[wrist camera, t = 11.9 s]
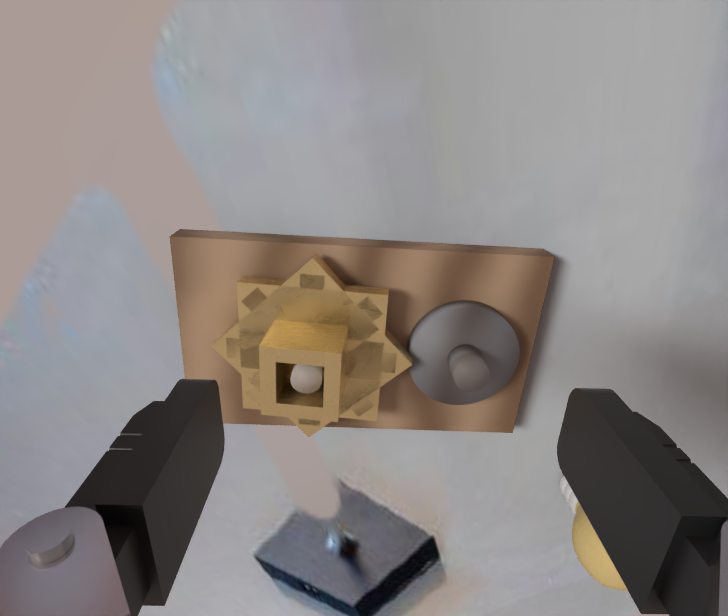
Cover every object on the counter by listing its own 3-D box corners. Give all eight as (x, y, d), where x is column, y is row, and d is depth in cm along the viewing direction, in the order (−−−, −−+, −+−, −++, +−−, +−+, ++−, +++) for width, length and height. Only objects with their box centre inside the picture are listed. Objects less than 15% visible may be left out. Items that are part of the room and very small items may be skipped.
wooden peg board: (543, 248, 33) (589, 282, 27) (504, 417, 39) (535, 478, 33) (180, 229, 32) (137, 259, 25) (197, 406, 38) (166, 467, 31)
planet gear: (423, 261, 30) (427, 288, 25) (402, 435, 35) (402, 484, 31) (210, 244, 30) (176, 267, 26) (223, 418, 36) (197, 462, 31)
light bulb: (607, 499, 43) (676, 604, 34) (540, 507, 43) (591, 613, 34) (615, 447, 41) (691, 544, 32) (543, 454, 41) (599, 554, 32)
